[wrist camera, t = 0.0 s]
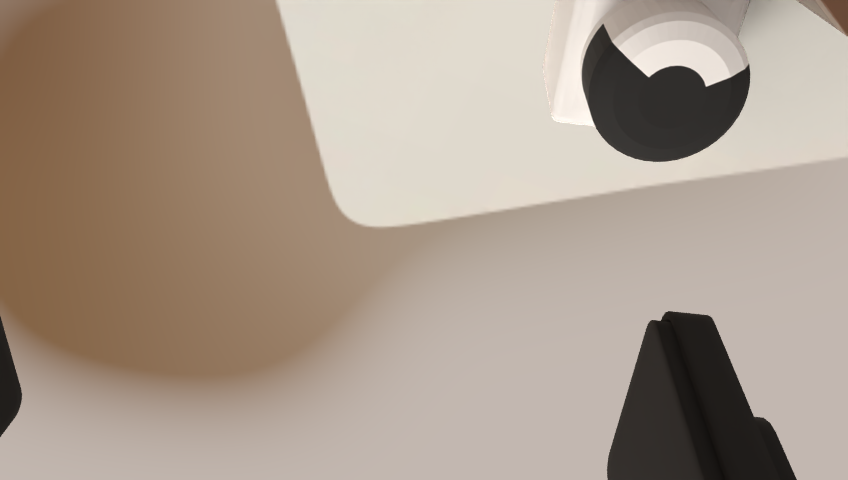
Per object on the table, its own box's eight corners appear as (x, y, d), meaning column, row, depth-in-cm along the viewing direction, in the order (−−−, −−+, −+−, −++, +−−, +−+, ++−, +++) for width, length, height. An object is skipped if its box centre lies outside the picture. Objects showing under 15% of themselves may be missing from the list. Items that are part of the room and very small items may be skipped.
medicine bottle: (672, 88, 40) (735, 192, 30) (540, 71, 40) (558, 170, 30) (713, -51, 36) (801, 14, 26) (568, -69, 36) (599, -11, 26)
